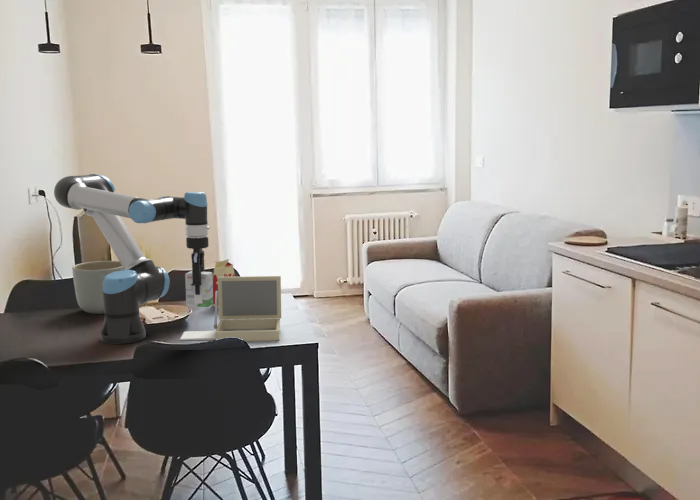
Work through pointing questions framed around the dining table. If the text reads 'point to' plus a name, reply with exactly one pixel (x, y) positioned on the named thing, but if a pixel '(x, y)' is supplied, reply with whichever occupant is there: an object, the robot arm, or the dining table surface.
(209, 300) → the ink box
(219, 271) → the milk carton
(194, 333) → the pad
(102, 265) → the planter
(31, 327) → the dining table surface
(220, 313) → the case
